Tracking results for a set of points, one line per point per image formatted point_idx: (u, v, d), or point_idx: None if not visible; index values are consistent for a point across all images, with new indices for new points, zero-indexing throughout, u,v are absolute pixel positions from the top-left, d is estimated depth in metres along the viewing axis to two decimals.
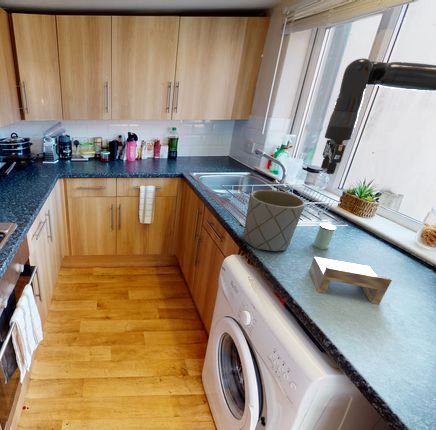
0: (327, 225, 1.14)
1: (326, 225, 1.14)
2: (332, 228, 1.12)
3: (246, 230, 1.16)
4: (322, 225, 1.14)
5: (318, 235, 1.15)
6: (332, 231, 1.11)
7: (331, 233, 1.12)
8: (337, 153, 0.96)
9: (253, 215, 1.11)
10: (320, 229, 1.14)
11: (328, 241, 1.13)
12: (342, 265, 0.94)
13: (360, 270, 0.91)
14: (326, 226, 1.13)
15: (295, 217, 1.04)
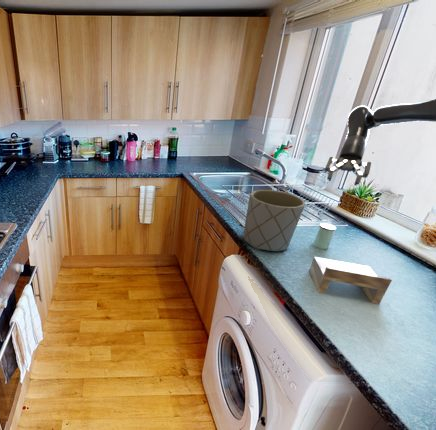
0: (327, 225, 1.14)
1: (326, 225, 1.14)
2: (332, 228, 1.12)
3: (246, 230, 1.16)
4: (322, 225, 1.14)
5: (318, 235, 1.15)
6: (332, 231, 1.11)
7: (331, 233, 1.12)
8: None
9: (253, 215, 1.11)
10: (320, 229, 1.14)
11: (328, 241, 1.13)
12: (342, 265, 0.94)
13: (360, 270, 0.91)
14: (326, 226, 1.13)
15: (295, 217, 1.04)
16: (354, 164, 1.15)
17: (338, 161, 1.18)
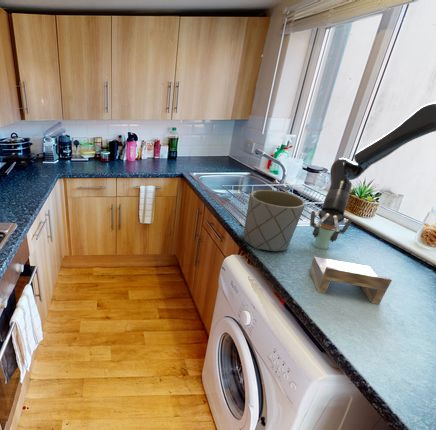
0: (327, 225, 1.14)
1: (326, 225, 1.14)
2: (332, 228, 1.12)
3: (246, 230, 1.16)
4: (322, 225, 1.14)
5: (318, 235, 1.15)
6: (332, 231, 1.11)
7: (331, 233, 1.12)
8: (310, 218, 1.19)
9: (253, 215, 1.11)
10: (320, 229, 1.14)
11: (328, 241, 1.13)
12: (342, 265, 0.94)
13: (360, 270, 0.91)
14: (326, 226, 1.13)
15: (295, 217, 1.04)
16: (335, 219, 1.14)
17: (320, 214, 1.17)
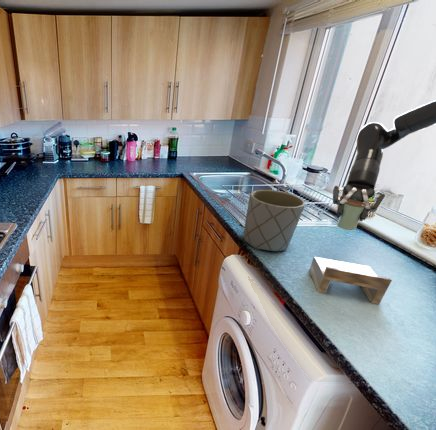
0: (354, 201, 0.95)
1: (353, 201, 0.95)
2: (361, 204, 0.93)
3: (246, 230, 1.16)
4: (348, 201, 0.95)
5: (343, 213, 0.96)
6: (361, 208, 0.92)
7: (360, 210, 0.93)
8: (333, 195, 1.00)
9: (253, 215, 1.11)
10: (346, 206, 0.95)
11: (356, 220, 0.94)
12: (342, 265, 0.94)
13: (360, 270, 0.91)
14: (353, 202, 0.94)
15: (295, 217, 1.04)
16: (364, 194, 0.95)
17: (345, 189, 0.98)
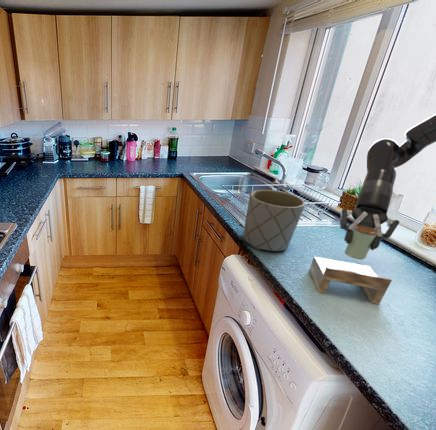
0: (365, 227, 0.85)
1: (363, 227, 0.85)
2: (373, 232, 0.83)
3: (246, 230, 1.16)
4: (358, 227, 0.85)
5: (352, 241, 0.86)
6: (373, 236, 0.83)
7: (371, 238, 0.83)
8: (340, 219, 0.91)
9: (253, 215, 1.11)
10: (355, 233, 0.85)
11: (366, 249, 0.85)
12: (342, 265, 0.94)
13: (360, 270, 0.91)
14: (364, 229, 0.85)
15: (295, 217, 1.04)
16: (375, 220, 0.85)
17: (354, 213, 0.88)
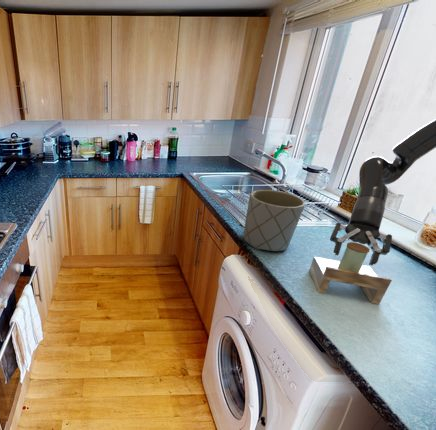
0: (357, 245, 0.88)
1: (356, 245, 0.88)
2: (364, 249, 0.86)
3: (246, 230, 1.16)
4: (350, 245, 0.88)
5: (345, 258, 0.89)
6: (364, 253, 0.85)
7: (363, 256, 0.86)
8: None
9: (253, 215, 1.11)
10: (348, 250, 0.88)
11: (358, 266, 0.87)
12: None
13: (360, 270, 0.91)
14: (356, 246, 0.87)
15: (295, 217, 1.04)
16: (369, 236, 0.87)
17: (348, 229, 0.91)
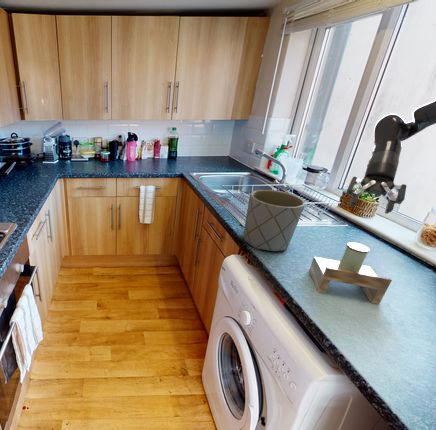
0: (357, 245, 0.88)
1: (356, 245, 0.88)
2: (364, 249, 0.86)
3: (246, 230, 1.16)
4: (350, 245, 0.88)
5: (345, 258, 0.89)
6: (364, 253, 0.85)
7: (363, 256, 0.86)
8: None
9: (253, 215, 1.11)
10: (348, 250, 0.88)
11: (358, 266, 0.87)
12: None
13: (360, 270, 0.91)
14: (356, 246, 0.87)
15: (295, 217, 1.04)
16: (385, 187, 0.92)
17: (364, 182, 0.96)
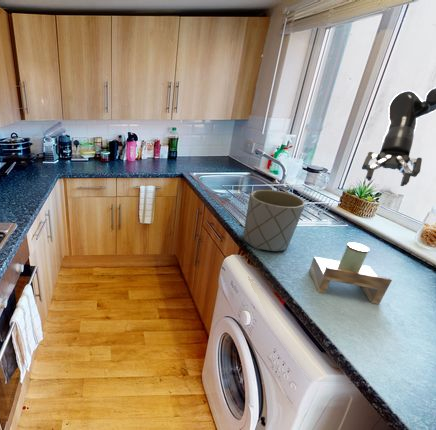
0: (357, 245, 0.88)
1: (356, 245, 0.88)
2: (364, 249, 0.86)
3: (246, 230, 1.16)
4: (350, 245, 0.88)
5: (345, 258, 0.89)
6: (364, 253, 0.85)
7: (363, 256, 0.86)
8: None
9: (253, 215, 1.11)
10: (348, 250, 0.88)
11: (358, 266, 0.87)
12: None
13: (360, 270, 0.91)
14: (356, 246, 0.87)
15: (295, 217, 1.04)
16: (400, 160, 0.95)
17: (379, 157, 0.99)
